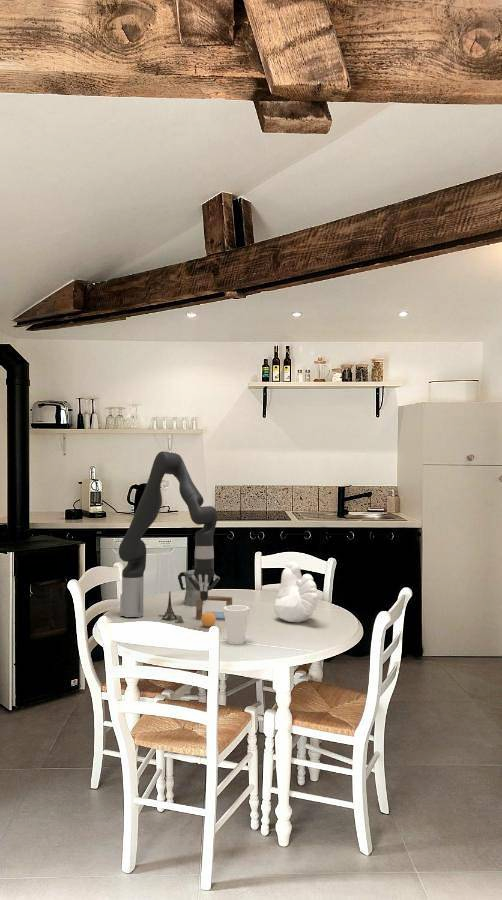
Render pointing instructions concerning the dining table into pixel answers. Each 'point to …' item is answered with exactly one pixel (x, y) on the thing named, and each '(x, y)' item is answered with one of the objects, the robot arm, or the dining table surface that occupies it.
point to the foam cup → (236, 623)
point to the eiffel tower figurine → (171, 614)
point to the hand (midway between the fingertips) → (204, 600)
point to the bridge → (214, 598)
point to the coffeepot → (189, 588)
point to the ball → (208, 619)
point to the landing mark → (218, 614)
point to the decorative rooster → (295, 595)
